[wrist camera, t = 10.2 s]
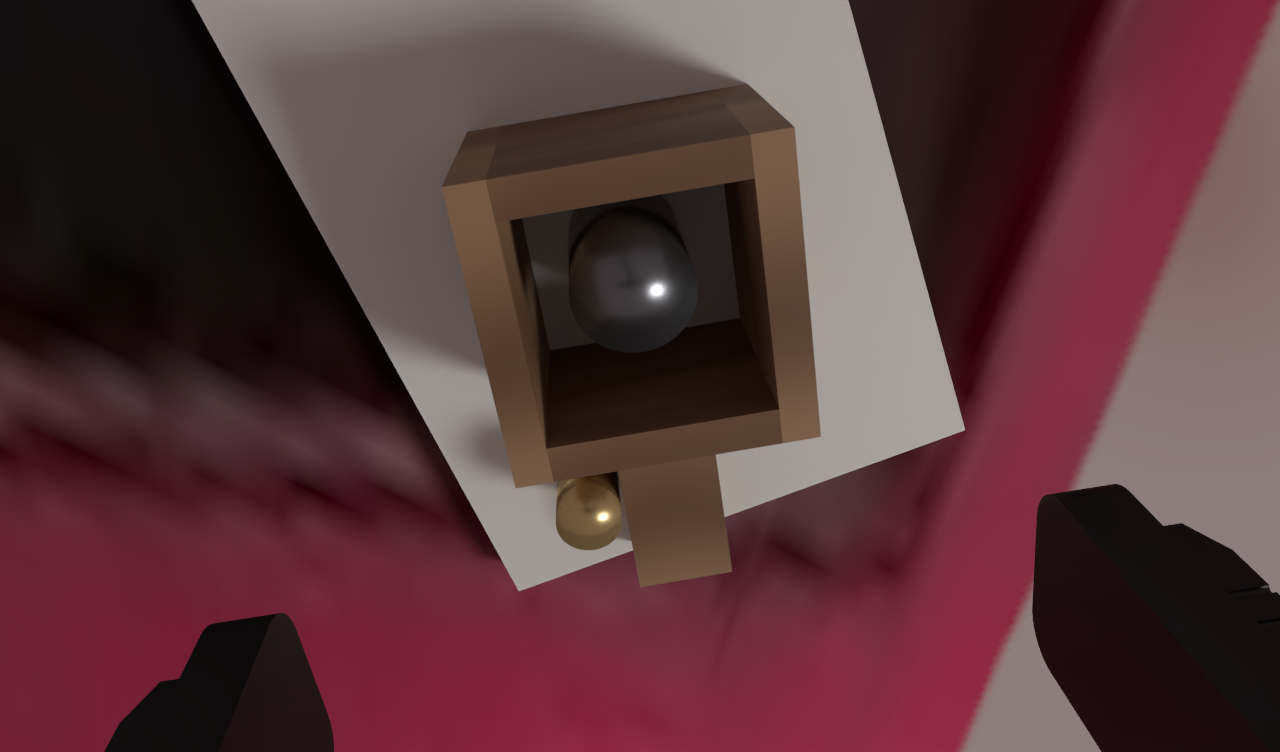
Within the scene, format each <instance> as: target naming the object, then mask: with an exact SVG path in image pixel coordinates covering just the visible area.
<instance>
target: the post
mask: <svg viewBox="0 0 1280 752" xmlns="http://www.w3.org/2000/svg"><path fill="white" fill-rule="evenodd" d="M568 257H569V303H570V307H571V311H572V313H573V316H574V318H575V320H576V322H577V324H578V325H579V327H580V328H581V329H582V331H583V332H584V333H585V334H586V335H587V336H588V337H589V338H591V339H592V340H593V341H595V342H596V343H598V344H599V345H601V346H603V347H606V348H608V349H611V350H614V351H618V352H624V353H639V352H645V351H650V350H653V349H656V348H658V347H661V346H663V345H665V344H666V343H668V342H670V341H671V340H673V339H674V338H675V337H676V336H678V334H679V333H680V332H681V331H682V330H683V329H684V328H685V327H686V325H687V324H688V322H689V321H690V319H691V317H692V315H693V313H694V310H695V307H696V303H697V297H698V284H697V278H696V275H695V271H694V268H693V266H692V263H691V260H690V257H689V254H688V252H687V249H686V246H685V243H684V241H683V238H682V235H681V232H680V230H679V227H678V224H677V221H676V218H675V216H674V213H673V211H672V209H671V207H670V206H669V204H668V203H667V202H666V200H665V199H664V198H663V197H662V196H661V195H655V196H649V197H643V198H637V199H631V200H625V201H620V202H614V203H608V204H602V205H596V206H590V207H584V208H578V209H575V210H574V212H573V214H572V217H571V220H570V225H569V233H568Z"/></svg>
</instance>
